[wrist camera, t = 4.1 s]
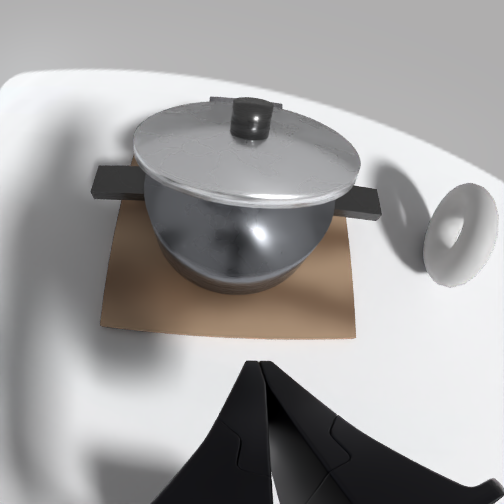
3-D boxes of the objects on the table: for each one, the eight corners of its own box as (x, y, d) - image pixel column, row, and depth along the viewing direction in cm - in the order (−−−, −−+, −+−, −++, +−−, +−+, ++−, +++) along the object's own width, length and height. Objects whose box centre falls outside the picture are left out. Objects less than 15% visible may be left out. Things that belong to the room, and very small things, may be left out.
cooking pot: (364, 299, 25) (396, 281, 20) (94, 283, 22) (68, 261, 18) (347, 166, 30) (367, 133, 25) (126, 147, 28) (116, 109, 23)
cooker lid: (390, 224, 15) (411, 175, 13) (100, 200, 13) (91, 143, 11) (323, 119, 26) (330, 90, 24) (163, 104, 24) (165, 72, 22)
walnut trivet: (352, 338, 24) (355, 337, 24) (102, 326, 22) (100, 325, 21) (332, 145, 32) (334, 142, 31) (143, 128, 29) (143, 124, 29)
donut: (420, 209, 30) (475, 156, 21) (443, 222, 30) (500, 175, 21) (409, 292, 27) (483, 253, 17) (435, 304, 26) (509, 271, 17)
